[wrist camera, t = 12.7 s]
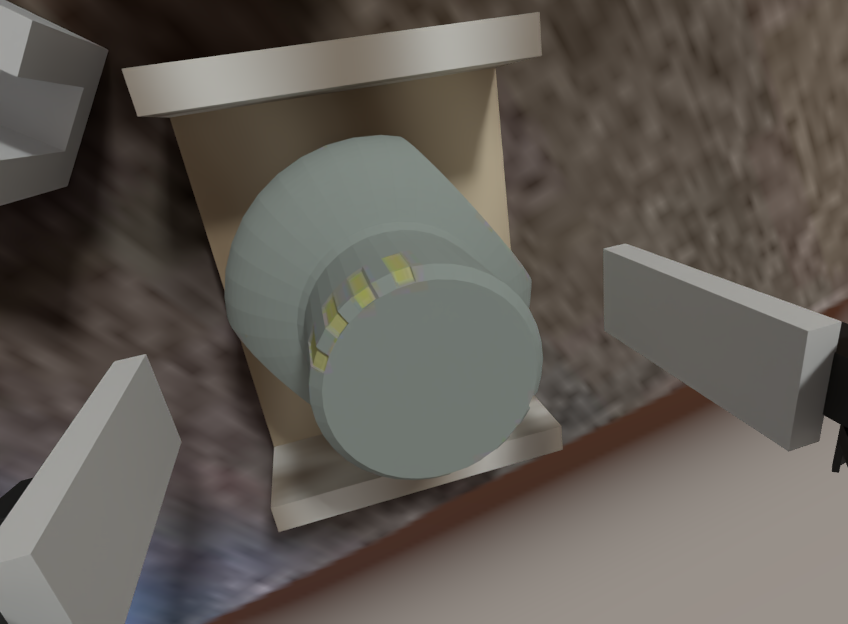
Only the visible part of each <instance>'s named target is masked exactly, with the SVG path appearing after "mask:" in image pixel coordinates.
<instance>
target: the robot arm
mask: <svg viewBox="0 0 848 624" xmlns="http://www.w3.org/2000/svg"><path fill="white" fill-rule="evenodd" d="M603 261H604V331H606V332H607V333H609V334H610V335H612V336H613V337H615V338H616V339H618V340H620V341H621V342H623V343H624V344H626V345H627V346H629V347H630V348H632V349H633V350H635V351H636V352H638V353H639V354H641V355H642V356H644V357H645V358H647V359H648V360H650V361H652V362H653V363H655V364H656V365H658V366H659V367H661V368H662V369H664V370H665V371H667V372H668V373H670V374H671V375H673V376H674V377H676V378H677V379H679V380H681V381H682V382H684V383H685V384H687V385H688V386H690V387H691V388H693V389H694V390H696V391H697V392H699V393H700V394H702V395H703V396H705V397H706V398H708V399H710V400H711V401H713V402H714V403H716V404H717V405H719V406H720V407H722V408H723V409H725V410H726V411H728V412H729V413H731V414H732V415H734V416H736V417H737V418H739V419H740V420H742V421H743V422H745V423H746V424H748V425H749V426H751V427H753V428H754V429H755V430H757V431H759V432H760V433H761V434H763V435H765V436H766V437H768V438H769V439H771V440H772V441H774V442H775V443H777V444H778V445H780V446H781V447H783V448H784V449H786V450H787V451H791V450H794V449H797V448H800V447H803V446H806V445H809V444H812V443H815V442H818V441H819V439H820V434H821V429H822V423H823V418H824V415H825V416H826V417H828V418H830V419H832V420H834V421H836V422H837V423H839V424H841V425H840V430H839V435H838V440H837V445H836V450H835V455H834V459H833V464H832V472H839V469H840V465H842V464H844V463H846V464H847V466H848V324H846V323H844V322H841V321H839V320H836V319H833V318H830V317H827V316H825V315H822V314H819V313H816V312H814V311H811V310H808V309H805V308H803V307H800V306H797V305H794V304H791V303H789V302H786V301H783V300H780V299H778V298H775V297H772V296H769V295H767V294H764V293H761V292H758V291H756V290H753V289H750V288H747V287H744V286H742V285H739V284H736V283H733V282H731V281H728V280H725V279H722V278H720V277H717V276H714V275H711V274H709V273H706V272H703V271H700V270H697V269H695V268H692V267H689V266H686V265H684V264H681V263H678V262H675V261H673V260H670V259H667V258H664V257H661V256H659V255H656V254H653V253H650V252H648V251H645V250H642V249H639V248H637V247H634V246H631V245H628V244H622V245H617V246H613V247H609V248H604V249H603ZM180 444H181V439H180V437H179V434H178V432H177V429H176V427H175V424H174V422H173V419H172V417H171V415H170V412H169V410H168V407H167V405H166V402H165V400H164V397H163V395H162V392H161V390H160V387H159V385H158V382H157V380H156V377H155V375H154V372H153V370H152V367H151V365H150V362H149V360H148V357H147V355H146V354H144V355H140V356H136V357H131V358H127V359H123V360H118V361H114V363H113V364H112V365H111V367H110V368H109V370H108V371H107V373H106V374H105V376H104V377H103V378H102V380H101V381H100V383H99V384H98V386H97V387H96V389H95V390H94V391H93V393H92V394H91V396H90V397H89V399H88V400H87V402H86V403H85V404H84V406H83V407H82V409H81V410H80V412H79V413H78V415H77V416H76V417H75V419H74V420H73V422H72V423H71V425H70V426H69V428H68V429H67V430H66V432H65V433H64V435H63V436H62V438H61V439H60V441H59V442H58V443H57V445H56V446H55V448H54V449H53V451H52V452H51V454H50V455H49V456H48V458H47V459H46V461H45V462H44V464H43V465H42V467H41V468H40V469H39V471H38V472H37V474H36V475H35V477H34V478H30V479H26V480H23V481H20V482H19V483H18V484H17V485H16V486H14V487H13V488H12V489H11V490H10V491H8V492H7V493H6V494H5V495H4V496H2V497H1V498H0V624H125V621H126V618H127V614H128V611H129V608H130V605H131V602H132V598H133V595H134V592H135V589H136V586H137V582H138V579H139V576H140V573H141V570H142V566H143V563H144V560H145V557H146V553H147V550H148V547H149V544H150V541H151V537H152V534H153V531H154V528H155V525H156V521H157V518H158V515H159V512H160V509H161V505H162V502H163V499H164V496H165V493H166V489H167V486H168V483H169V480H170V477H171V473H172V470H173V467H174V464H175V460H176V457H177V454H178V451H179V448H180Z"/></svg>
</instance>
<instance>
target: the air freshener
mask: <svg viewBox="0 0 848 624" xmlns="http://www.w3.org/2000/svg"><path fill="white" fill-rule="evenodd" d="M531 282H532V281H531V278H530V276H529V275H528V273H527V271H526V270H525V268H524V267H523V266H522V264H521V263H520V262H519V260H518V259H517V258H516V256H515V255H514V254H513V253H512V251H511V250H510V249H509V248H508V246H507V245H506V244H505V243H504V242H503V240H502V239H501V238H500V237H499V236H498V234H497V233H496V232H495V231H494V230H493V229H492V227H491V226H490V225H489V224H488V223H487V222H486V220H485V219H484V218H483V217H482V216H481V215H480V214H479V213H478V211H477V210H476V209H475V208H474V207H473V206H472V205H471V204H470V203H469V202H468V200H467V199H466V198H465V197H464V196H463V195H462V194H461V193H460V192H459V191H458V190H457V189H456V188H455V187H454V185H453V184H452V183H451V182H450V181H449V180H448V179H447V178H446V177H445V176H444V175H443V174H442V173H441V172H440V171H439V170H438V169H437V168H436V167H435V166H434V165H433V164H432V163H431V162H430V161H429V160H428V159H427V158H426V157H425V156H424V155H423V154H422V153H421V152H419V151H418V150H417V149H416V148H415V147H414V146H413V145H412V144H410V143H409V142H408V141H407V140H405V139H404V138H402V137H400V136H388V135H374V136H364V137H354V138H350V139H346V140H343V141H339V142H335V143H332V144H328V145H325V146H323V147H321V148H319V149H317V150H315V151H313V152H311V153H309V154H307V155H305V156H302V157H300V158H299V159H298V160H296V161H295V162H293V163H292V164H291V165H289V166H288V167H287V168H285V169H284V170H282V171H281V172H280V173H278V174H277V175H276V176H275V177H274V178H273V179H272V180H271V181H270V182H269V183H268V185H267V186H266V187H265V188H264V189H263V190H262V191H261V192H260V193H259V194H258V195H257V197H256V198H255V200H254V201H253V203H252V204H251V206H250V207H249V209H248V210H247V212H246V213H245V215H244V216H243V218H242V220H241V223H240V225H239V227H238V230H237V232H236V234H235V237H234V239H233V241H232V244H231V248H230V252H229V257H228V261H227V265H226V270H225V304H226V311H227V317H228V320H229V323H230V325H231V327H232V329H233V330H234V332H235V333H236V334H237V336H238V337H239V338H240V339H241V341H242V342H243V343H244V344H245V346H246V347H247V348H248V349H249V350H250V351H251V352H252V354H253V355H254V356H255V357H256V358H257V359H258V360H259V361H260V362H261V363H262V364H263V365H264V366H265V367H266V368H267V369H268V370H269V371H270V372H272V373H273V374H274V375H275V376H276V377H277V378H278V379H279V380H280V381H282V382H283V383H284V384H285V385H286V386H287V387H289V388H290V389H291V390H292V391H293V392H295V393H296V394H297V395H298V396H300V397H301V398H302V399H304V400H305V401H306V402H307V403H309V404H310V405H311V407H312V410H313V414H314V417H315V420H316V422H317V424H318V426H319V428H320V430H321V432H322V434H323V436H324V437H325V438H326V440H327V441H328V442H329V443H330V445H331V446H332V447H333V448H334V450H335V451H337V452H338V453H339V454H340V455H341V456H342V457H344V458H345V459H346V460H347V461H349V462H350V463H352V464H354V465H355V466H357V467H359V468H361V469H362V470H365V471H367V472H370V473H373V474H375V475H378V476H382V477H387V478H392V479H400V480H421V479H432V478H436V477H440V476H445V475H449V474H451V473H453V472H456V471H458V470H461V469H464V468H467V467H469V466H471V465H473V464H475V463H477V462H478V461H480V460H482V459H483V458H484V457H486V456H487V455H488V454H490V453H491V452H493V451H494V450H495V449H497V448H498V447H499V446H501V445H502V444H503V443H504V442H505V441H506V440H507V439H508V438H509V437H510V434H511V433H512V432H513V431H514V429H515V428H516V427H517V426H518V425H519V424H520V423H521V422H522V421H523V419H524V417H525V416H526V414H527V413H528V411H529V409H530V407H529V404H530V402H531V399H532V397H533V396H534V395H535V394H536V393H537V390H538V386H539V382H540V379H541V373H542V362H543V355H542V343H541V338H540V335H539V331H538V327H537V324H536V322H535V320H534V318H533V316H532V314H531V312H530V310H529V305H530V295H531Z"/></svg>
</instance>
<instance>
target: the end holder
mask: <svg viewBox="0 0 848 624" xmlns="http://www.w3.org/2000/svg"><path fill="white" fill-rule="evenodd" d="M539 56H542V51H541V32H540V13H539V12H536V13H529V14H521V15H514V16H507V17H499V18H492V19H485V20H477V21H470V22H462V23H455V24H448V25H440V26H433V27H426V28H418V29H411V30H403V31H396V32H389V33H381V34H374V35H366V36H359V37H352V38H344V39H337V40H330V41H322V42H315V43H307V44H300V45H293V46H285V47H278V48H271V49H263V50H256V51H248V52H241V53H234V54H226V55H219V56H212V57H204V58H197V59H189V60H182V61H175V62H167V63H160V64H152V65H145V66H138V67H130V68H123V69H122V72H123V75H124V78H125V81H126V84H127V87H128V90H129V92H130V95H131V98H132V101H133V104H134V107H135V110H136V113H137V116H138V117H168V118H170V120H171V123H172V127H173V130H174V133H175V136H176V139H177V142H178V145H179V149H180V152H181V155H182V158H183V161H184V164H185V168H186V171H187V174H188V177H189V180H190V183H191V186H192V190H193V193H194V196H195V199H196V202H197V205H198V209H199V212H200V215H201V218H202V221H203V224H204V227H205V231H206V234H207V237H208V240H209V243H210V246H211V249H212V253H213V256H214V259H215V262H216V265H217V268H218V272H219V275H220V278H221V281H222V284H223V287H224V290H225V270H226V265H227V261H228V257H229V252H230V248H231V244H232V241H233V239H234V237H235V234H236V232H237V230H238V227H239V225H240V223H241V220H242V218H243V216H244V215H245V213H246V212H247V210H248V209H249V207H250V206H251V204H252V203H253V201H254V200H255V198H256V197H257V195H258V194H259V193H260V192H261V191H262V190H263V189H264V188H265V187H266V186H267V185H268V183H269V182H270V181H271V180H272V179H273V178H274V177H275V176H276V175H277V174H278V173H280V172H281V171H282V170H284V169H285V168H287V167H288V166H289V165H291V164H292V163H293V162H295V161H296V160H298V159H299V158H300V157H302V156H305V155H307V154H309V153H311V152H313V151H315V150H317V149H319V148H321V147H323V146H325V145H328V144H332V143H335V142H339V141H343V140H346V139H350V138H354V137H364V136H374V135H388V136H400V137H402V138H404V139H405V140H407V141H408V142H409V143H410V144H412V145H413V146H414V147H415V148H416V149H417V150H418V151H419V152H421V153H422V154H423V155H424V156H425V157H426V158H427V159H428V160H429V161H430V162H431V163H432V164H433V165H434V166H435V167H436V168H437V169H438V170H439V171H440V172H441V173H442V174H443V175H444V176H445V177H446V178H447V179H448V180H449V181H450V182H451V183H452V184H453V185H454V187H455V188H456V189H457V190H458V191H459V192H460V193H461V194H462V195H463V196H464V197H465V198H466V199H467V200H468V202H469V203H470V204H471V205H472V206H473V207H474V208H475V209H476V210H477V211H478V213H479V214H480V215H481V216H482V217H483V218H484V219H485V220H486V222H487V223H488V224H489V225H490V226H491V227H492V229H493V230H494V231H495V232H496V233H497V234H498V236H499V237H500V238H501V239H502V240H503V242H504V243H505V244H506V245H507V246H508V248H509V249H510V250H511V247H510V235H509V223H508V211H507V199H506V188H505V176H504V164H503V152H502V140H501V129H500V117H499V105H498V93H497V81H496V70H495V68H496V67H500V66H504V65H508V64H512V63H516V62H519V61H523V60H527V59H531V58H535V57H539ZM240 341H241V339H240ZM241 344H242V347H243V350H244V353H245V357H246V360H247V363H248V366H249V369H250V372H251V376H252V379H253V382H254V385H255V388H256V391H257V394H258V398H259V401H260V404H261V407H262V410H263V413H264V417H265V420H266V423H267V426H268V429H269V432H270V435H271V439H272V442H273V445H274V458H273V477H272V495H271V511H272V514H273V517H274V519H275V522H276V525H277V528H278V531H279V532H281V531H284V530H288V529H291V528H295V527H298V526H302V525H305V524H308V523H312V522H315V521H319V520H322V519H326V518H329V517H332V516H336V515H339V514H343V513H346V512H350V511H353V510H356V509H360V508H363V507H367V506H370V505H374V504H377V503H380V502H384V501H387V500H391V499H394V498H398V497H401V496H404V495H408V494H411V493H415V492H418V491H422V490H425V489H429V488H432V487H435V486H439V485H442V484H446V483H449V482H453V481H456V480H459V479H463V478H466V477H470V476H473V475H477V474H480V473H483V472H487V471H490V470H494V469H497V468H501V467H504V466H507V465H511V464H514V463H518V462H521V461H525V460H528V459H531V458H535V457H538V456H542V455H545V454H549V453H552V452H555V451H559V450H562V431H561V425H560V424H559V423H558V422H557V421H556V420H555V418H554V417H553V416H552V415H551V414H550V413H549V412H548V411H547V409H546V408H545V407H544V406H543V405H542V404H541V403H540V401H539V400H538V399H537V398H536V397H535V396H533V397H532V399H531V402H530V404H529V407H530V409H529V411H528V413H527V414H526V416H525V417H524V419H523V421H522V422H521V423H520V424H519V425H518V426H517V427H516V428H515V429H514V431H513V432H512V433H511V434H510V437H509V438H508V439H507V440H506V441H505V442H504V443H503V444H502V445H501V446H499V447H498V448H497V449H495V450H494V451H493V452H491V453H490V454H488V455H487V456H486V457H484V458H483V459H482V460H480V461H478V462H477V463H475V464H473V465H471V466H469V467H467V468H464V469H461V470H458V471H456V472H453V473H451V474H449V475H445V476H440V477H436V478H432V479H421V480H400V479H392V478H387V477H382V476H378V475H375V474H373V473H370V472H367V471H365V470H362V469H361V468H359V467H357V466H355V465H354V464H352V463H350V462H349V461H347V460H346V459H345V458H344V457H342V456H341V455H340V454H339V453H338V452H337V451H335V450H334V448H333V447H332V446H331V445H330V443H329V442H328V441H327V440H326V438H325V437H324V436H323V434H322V432H321V430H320V428H319V426H318V424H317V422H316V420H315V417H314V414H313V410H312V407H311V405H310V404H309V403H307V402H306V401H305V400H304V399H302V398H301V397H300V396H298V395H297V394H296V393H295V392H293V391H292V390H291V389H290V388H289V387H287V386H286V385H285V384H284V383H283V382H282V381H280V380H279V379H278V378H277V377H276V376H275V375H274V374H273V373H272V372H270V371H269V370H268V369H267V368H266V367H265V366H264V365H263V364H262V363H261V362H260V361H259V360H258V359H257V358H256V357H255V356H254V355H253V354H252V352H251V351H250V350H249V349H248V348H247V347H246V346H245V344H244V343H243V342H242V341H241Z"/></svg>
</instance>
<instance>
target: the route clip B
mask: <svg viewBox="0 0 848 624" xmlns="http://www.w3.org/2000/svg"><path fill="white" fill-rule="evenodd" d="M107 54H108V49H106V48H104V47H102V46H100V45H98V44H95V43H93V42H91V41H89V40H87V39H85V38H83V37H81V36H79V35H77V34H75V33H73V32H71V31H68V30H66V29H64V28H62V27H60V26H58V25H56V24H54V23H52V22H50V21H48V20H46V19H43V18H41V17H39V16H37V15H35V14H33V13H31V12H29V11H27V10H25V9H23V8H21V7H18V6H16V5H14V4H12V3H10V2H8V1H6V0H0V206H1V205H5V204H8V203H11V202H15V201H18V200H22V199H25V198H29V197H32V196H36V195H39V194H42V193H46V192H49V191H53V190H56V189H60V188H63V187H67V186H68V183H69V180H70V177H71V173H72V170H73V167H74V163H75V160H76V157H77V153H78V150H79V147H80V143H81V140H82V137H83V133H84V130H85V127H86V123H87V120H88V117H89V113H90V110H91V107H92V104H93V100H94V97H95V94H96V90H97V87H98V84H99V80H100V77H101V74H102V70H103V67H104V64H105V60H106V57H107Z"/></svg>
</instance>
